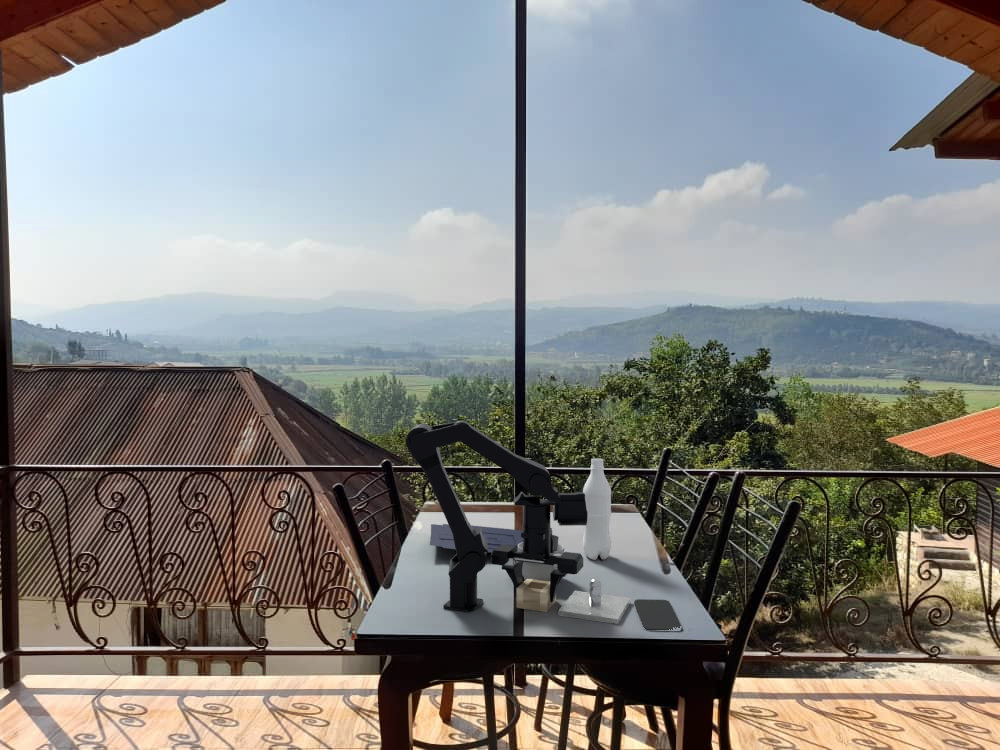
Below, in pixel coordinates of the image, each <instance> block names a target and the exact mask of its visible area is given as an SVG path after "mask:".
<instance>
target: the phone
mask: <svg viewBox="0 0 1000 750" xmlns="http://www.w3.org/2000/svg"><path fill="white" fill-rule="evenodd" d="M633 604H634V606H635V607H634V608H635V610H636V612H637V615H638V617H639V621H640V623H641V622H642V623H641V625H643V626H642V628H643V627H644V628H645V629H647V630H669V629H670V630H671V629H672V630H673V627H674V628H675V627H676V628H677V627H678V628H680V626H682V625H681V622H680V620H679V618H678V616H677V614H676V612H675V611H674V610H675V609H674V608H673V606H672V604H671V602H670V601H669V600H667V599H645V598H644V599H641V598H640V599H639V598H638V599H635V600H634V601H633ZM644 628H643V629H644ZM676 628H675V629H676ZM645 629H644V630H645ZM647 630H646V631H647Z"/></svg>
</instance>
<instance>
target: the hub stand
mask: <svg viewBox="0 0 1000 750" xmlns="http://www.w3.org/2000/svg"><path fill="white" fill-rule="evenodd" d="M588 588H589V591H588V592H587V591H580V590H579V591H578V590H574V591H573V592H572V593H571V595H570V596H569V597H568V599H566V600H565V602H564V603H563V605H562V606H561V607H560V608H559V609H558V616H560V617H566V618H573V619H578V620H579V619H581V620H588V621H593V622H601V623H606V622H607V623H608V624H613V623H614V625H619V623H620V622H621V620H622V618H623V616H624V615H625V613H626V611H627V609H628V608H629V605H630V604H631V598H630V597H624V596H617V595H609V594H602V582H601V581H600V580H599V579H597V578H593V579H591V580H590V582H589V587H588ZM619 621H620V622H619ZM607 623H606V624H607Z"/></svg>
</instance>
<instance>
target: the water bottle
mask: <svg viewBox="0 0 1000 750" xmlns="http://www.w3.org/2000/svg"><path fill="white" fill-rule="evenodd" d="M590 462H591V465H590V467H589V468H590V474H589V476H588V478H587V480H586V482H585V484H584V485H583V488H582V492H584V494H585V501H586V510H587V512H588V516H587V525H584V532H583V538H582V550H583V553H584V555H585V557H586V558H589V559H590V560H593V561H595V560H597V559H598V556H599V557H600V558H601V560H606V559H608V557H609V556H610V553H611V549H612V540H611V539H612V538H611V533H610V522H611V516H612V488H611V486H610V483H609V481H608V480H607V477H606V475H605V473H604V469H605V466H604V459H603V458H600V457H599V458H595V457H594V458H591V461H590Z"/></svg>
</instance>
